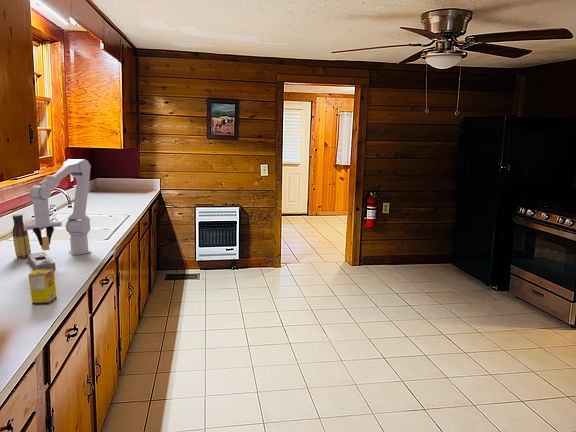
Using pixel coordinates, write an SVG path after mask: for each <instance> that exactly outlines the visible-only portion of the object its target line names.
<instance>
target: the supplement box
mask: <svg viewBox="0 0 576 432" xmlns="http://www.w3.org/2000/svg"><path fill="white" fill-rule="evenodd" d="M55 278H56V277H55V270H54V269H36V270H35V269H34V270H33V271H32V272H30V273H28V282H29V283H28V284H29V290H30V298H31V304H34V305H49V304H48V303H50V302H51V303H52V301H53V300H54V299H55V300H56V299H57V288H56V287H57V286H56V281H55V280H56V279H55ZM55 300H54V301H55ZM54 301H53V302H54ZM51 303H50V304H51Z"/></svg>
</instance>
